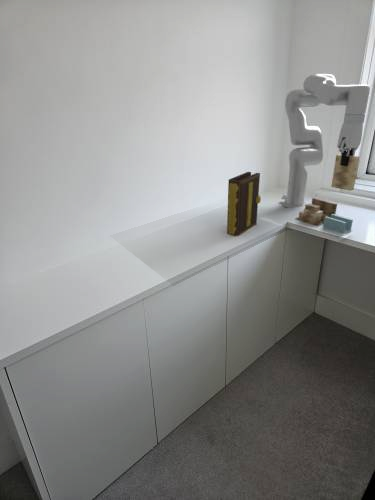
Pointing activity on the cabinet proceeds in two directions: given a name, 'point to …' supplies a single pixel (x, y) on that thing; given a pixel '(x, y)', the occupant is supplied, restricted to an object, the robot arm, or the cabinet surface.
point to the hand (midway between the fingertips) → (346, 164)
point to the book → (242, 203)
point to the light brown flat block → (345, 173)
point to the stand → (337, 223)
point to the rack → (317, 212)
